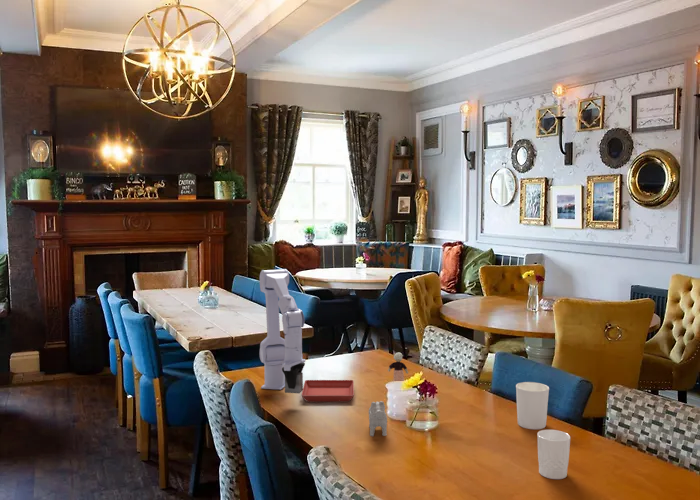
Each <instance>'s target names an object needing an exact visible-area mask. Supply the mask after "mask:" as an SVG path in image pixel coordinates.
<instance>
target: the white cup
mask: <svg viewBox="0 0 700 500" xmlns="http://www.w3.org/2000/svg"><path fill="white" fill-rule="evenodd" d="M536 434H537V435H536V436H537V458H538V459H537V462H538V473H539V474H540V475H541V476H542V477H544V478H547V479H550V480H562V479H565V478H566V477H567V476H568V475H567V474H568V467H569V460H570V447H571V446H570V445H571V436H570V435H569V433H567V432H565V431H561V430H558V429H541V430H539V431H538V432H537V433H536Z"/></svg>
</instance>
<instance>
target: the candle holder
mask: <svg viewBox="0 0 700 500" xmlns="http://www.w3.org/2000/svg"><path fill="white" fill-rule="evenodd" d="M515 390H516V391H515V392H516V393H515V394H516V395H515V397H516V413H517V414H516V416H517V425H518V426H519V427H521V428H523V429H529V430H543V429H545V427H546V426H547V420H548V419H547V416H548V406H549V405H548V403H549V394H550V393H549V392H550V387H549V386H548V385H547V384H544V383H542V382H541V383H540V382H535V381H523V382H518V383H516V384H515Z"/></svg>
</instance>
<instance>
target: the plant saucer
mask: <svg viewBox="0 0 700 500" xmlns="http://www.w3.org/2000/svg"><path fill="white" fill-rule="evenodd" d="M354 384H355V380H352V379H306V380H304V382H303V390H302V391H301V397H302V398H303V399H304V400H305V401H306V402H308V403H310V402H312V403H313V402H314V403H316V402H318V403H319V402H320V403H321V402H323V403H326V402H331V403H335V402H336V403H337V402H339V403H340V402H341V403H342V402H343V403H344V402H347V403H348V402H350V401H351V400H352V398H354V396H355V392H354V391H355V387H354V386H355V385H354Z"/></svg>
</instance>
